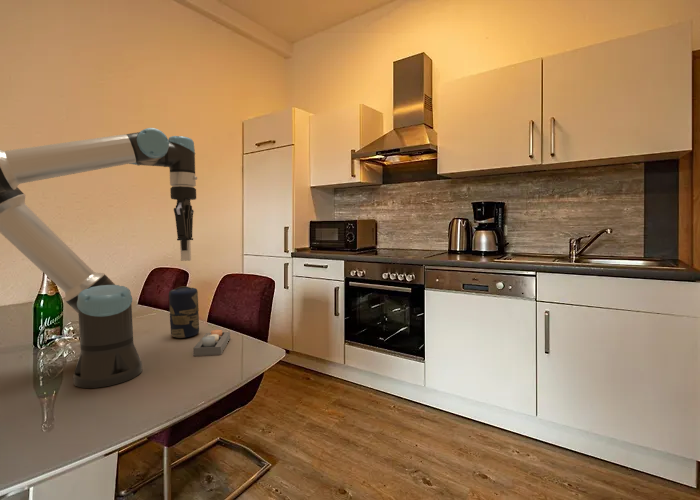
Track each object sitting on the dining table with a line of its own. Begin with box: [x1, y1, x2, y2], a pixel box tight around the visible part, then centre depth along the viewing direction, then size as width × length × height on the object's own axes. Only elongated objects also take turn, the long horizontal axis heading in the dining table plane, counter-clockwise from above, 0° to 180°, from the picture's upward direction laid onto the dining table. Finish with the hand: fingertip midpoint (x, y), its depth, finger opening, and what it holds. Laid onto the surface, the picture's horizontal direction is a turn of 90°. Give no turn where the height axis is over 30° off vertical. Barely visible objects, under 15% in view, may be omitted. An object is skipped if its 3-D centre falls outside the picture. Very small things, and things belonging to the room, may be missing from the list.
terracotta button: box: [210, 329, 223, 336], centre depth 125 cm, size 4×4×2 cm
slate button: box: [202, 336, 215, 347], centre depth 114 cm, size 4×4×2 cm
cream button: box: [208, 334, 219, 341], centre depth 120 cm, size 4×4×2 cm
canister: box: [168, 285, 200, 339], centre depth 132 cm, size 10×10×18 cm
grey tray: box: [192, 331, 231, 357], centre depth 120 cm, size 16×8×2 cm, turn 8°
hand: (186, 260), depth 119 cm, fingers closed
